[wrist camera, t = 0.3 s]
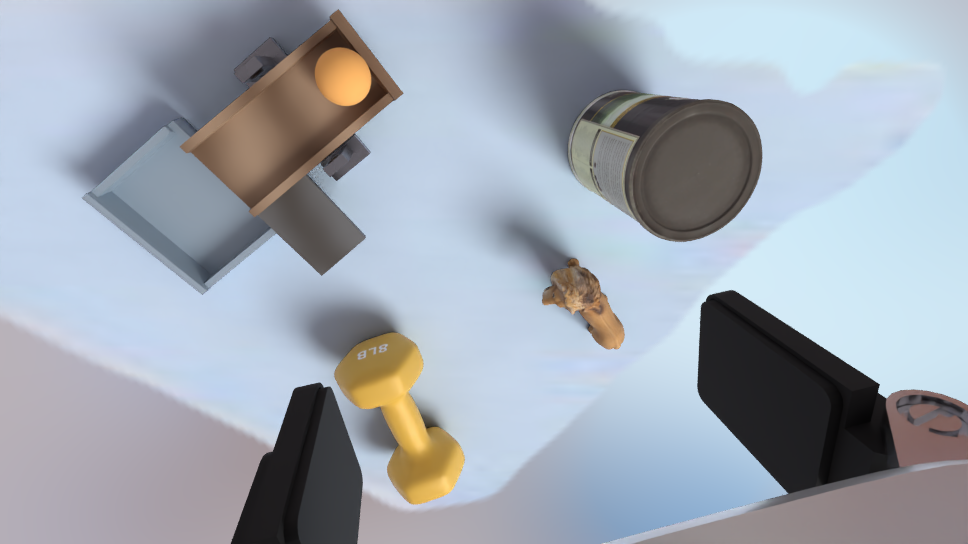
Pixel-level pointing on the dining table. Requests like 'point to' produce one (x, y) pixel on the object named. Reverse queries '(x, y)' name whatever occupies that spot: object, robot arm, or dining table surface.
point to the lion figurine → (585, 303)
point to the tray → (179, 209)
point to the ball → (343, 76)
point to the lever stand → (266, 61)
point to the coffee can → (667, 160)
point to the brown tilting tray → (293, 145)
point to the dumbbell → (401, 415)
